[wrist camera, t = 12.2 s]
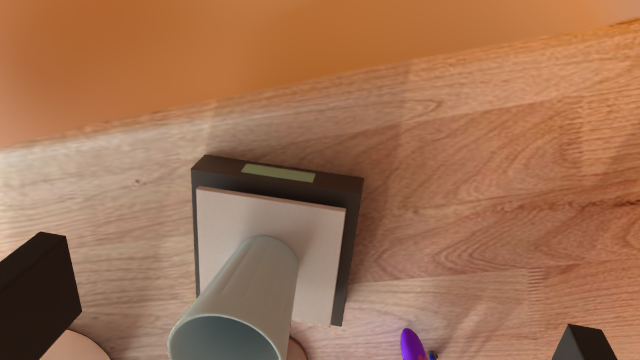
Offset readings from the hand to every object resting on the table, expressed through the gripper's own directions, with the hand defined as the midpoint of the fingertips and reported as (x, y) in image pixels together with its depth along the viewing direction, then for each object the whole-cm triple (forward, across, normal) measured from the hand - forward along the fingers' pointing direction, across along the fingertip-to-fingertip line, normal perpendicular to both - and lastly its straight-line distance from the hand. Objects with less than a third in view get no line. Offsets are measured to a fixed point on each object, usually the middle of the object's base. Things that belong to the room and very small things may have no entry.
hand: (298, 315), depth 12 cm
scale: (+25, -6, -15) cm, 30 cm away
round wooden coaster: (+25, -6, -31) cm, 40 cm away
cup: (+21, -6, -15) cm, 26 cm away
